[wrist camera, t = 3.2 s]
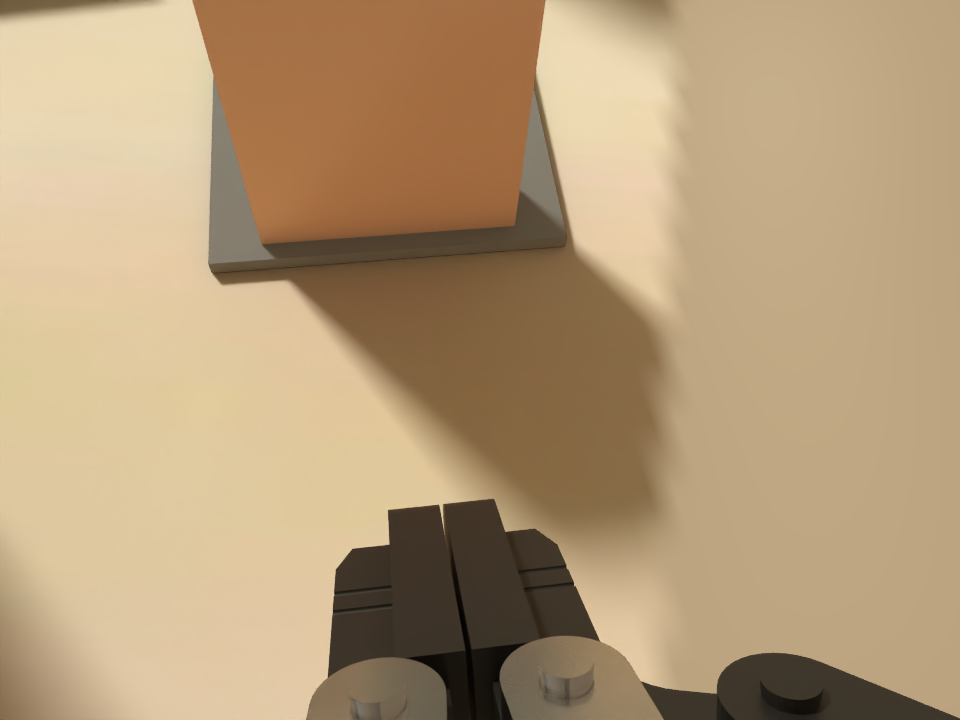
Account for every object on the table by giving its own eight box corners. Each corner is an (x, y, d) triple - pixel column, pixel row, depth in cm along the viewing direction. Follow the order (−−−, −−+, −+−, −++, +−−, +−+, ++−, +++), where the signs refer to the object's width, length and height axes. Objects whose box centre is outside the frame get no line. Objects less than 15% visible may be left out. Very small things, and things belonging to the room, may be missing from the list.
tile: (261, 244, 34) (164, -98, 21) (260, 191, 35) (169, -160, 23) (514, 226, 35) (560, -110, 22) (505, 175, 36) (543, -168, 24)
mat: (211, 273, 34) (208, 263, 33) (219, -42, 43) (217, -54, 42) (564, 246, 35) (566, 237, 35) (499, -53, 44) (500, -64, 44)
